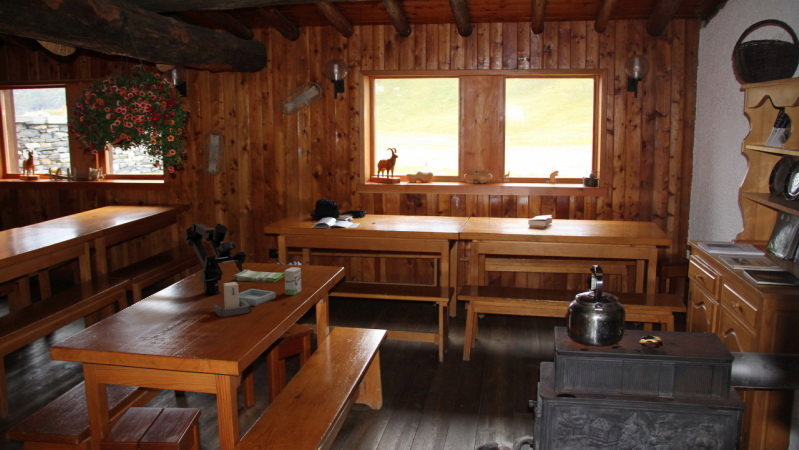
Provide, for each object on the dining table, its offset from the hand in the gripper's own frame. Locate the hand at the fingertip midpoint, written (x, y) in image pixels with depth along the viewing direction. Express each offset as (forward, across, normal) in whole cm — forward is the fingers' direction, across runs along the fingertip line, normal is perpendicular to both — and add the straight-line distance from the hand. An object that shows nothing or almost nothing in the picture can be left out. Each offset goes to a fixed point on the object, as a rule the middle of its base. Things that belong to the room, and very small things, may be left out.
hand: (232, 272), depth 298 cm
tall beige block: (+15, -4, +8) cm, 18 cm away
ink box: (+7, +32, +14) cm, 35 cm away
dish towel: (-24, +32, +35) cm, 53 cm away
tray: (+7, +11, +14) cm, 19 cm away
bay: (+15, -4, +8) cm, 18 cm away
